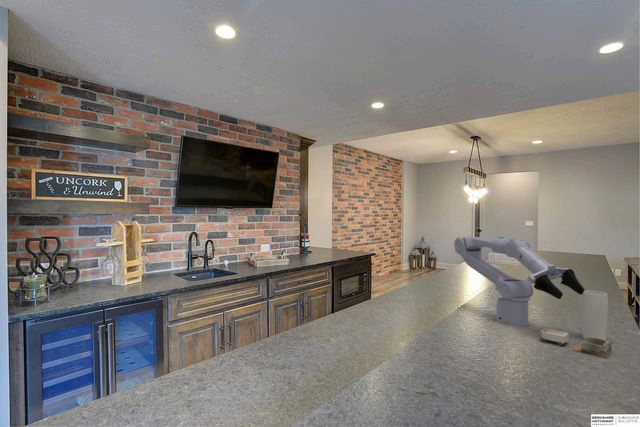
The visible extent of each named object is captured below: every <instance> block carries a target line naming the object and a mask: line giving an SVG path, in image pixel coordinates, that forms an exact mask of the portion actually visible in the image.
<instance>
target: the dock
mask: <svg viewBox="0 0 640 427" xmlns="http://www.w3.org/2000/svg"><path fill="white" fill-rule="evenodd" d="M585 340H586V341H580V343H579V342H578V343H577V344H576V345H575V346H574V347H572V349H571V351H572V352H573V351H574V352H576V353H577V352H578V353H582V354H586V355H590V356H594V357H599V358H602V359H607V358H609V356H610V354H611V353H612V340H609V339H606V340H603V339H598V338H593V337H589V336H587V337H586V339H585Z"/></svg>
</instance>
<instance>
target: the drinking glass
mask: <svg viewBox="0 0 640 427" xmlns="http://www.w3.org/2000/svg"><path fill="white" fill-rule="evenodd" d="M578 302H579V311H580V313H579V314H580V319H581V326H582V338H583V339H584V340H586V337H587V336H589V337H593V338H598V339H603V340H607V326H608V315H609V296H608V293H606V292H603V291H598V290H588V289H587V290H586V289H585V290H584V292H583V294H581V295H580V294H578Z"/></svg>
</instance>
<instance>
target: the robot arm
mask: <svg viewBox="0 0 640 427" xmlns="http://www.w3.org/2000/svg"><path fill="white" fill-rule="evenodd" d="M514 239H515V238H504V236H497V237H494V238H492V239H489V238H486V237H481V236H471V237H469V236H467V237H466V236H465V237H460V236H459V237H457V238H455V240H454V244H453V245H454V251H455V253H456V254H458V255H459V256H460V257H461V258H462V259H463V262H465V264H466V265H467V266H469V267H470V268H471V269H473V270H474V271H475V272H477V273H478V274H480V275H481V276H483V277H484V278H486V279H487V280H488V281H490V282H492V283H493V284H494V285H495V290H496V291H497V292H499V294H500V296H501V297H499V298H498V299H497V301H496V322H500V323H503V324H504V323H505V324H508V325H513V326H517V327H518V326H519V327H527V326H529V301H530V299H531V297H533V295H534V289H535V290H537V291H541V292H544V293H546V294H549V295H551V296H552V297H554V298H556V299H557V300H561V299H562V297H563V295H564V294H563V292H562V291H561V289H559V288H558V287H557V286H556V285H555V284H554V283H553V282H552V281H553V280H555V279H557V278H561V282H560V284H561V285H564V286H566V287H568V288H569V289H571V290H573V291H574V292H575V293H577V294H578V295H579V294H580V295H581V294H583V292H584V290H586V289H585V288H584V287H583V285H582V284H581V283H580V281H579V280H578V278H577V276H576V273H575V272H574V270H573V269H572V268H569V267H557V266H556V265H555V264H554V263H553V264H551V263H549V262H548V261H546V260H545V259H544V258H543V257H542V256H541V255H539V254H538V253H537V252H535V251H534V250H533V249H532V248H531V245H530V243H529V242H527V241H526V240H522V239H521V240H514ZM482 248H488V249H491V251H493V252H494V253H498V254H502V255H506V256H507V257H509V258H513V259H514V260H516V261H518V262H519V263H520V264H522V266H524V267H525V268H526V269H527V271H529V272H531V273H532V274H529V275H528V277H527V279H526V280H523V279H520V278H519V277H514V276H511V275H508V274H507V273H505V272H503V271H502V270H501V269H499V268H497V267H496V266H494V265H493V264H491V263H489V262H487V261H486V260H484V259H483V258H482V255H483V254H482V253H483V252H482Z"/></svg>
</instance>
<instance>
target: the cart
mask: <svg viewBox="0 0 640 427" xmlns="http://www.w3.org/2000/svg"><path fill="white" fill-rule="evenodd" d="M538 332H539V339H540V340H541V342H542V343H546V342H547V341H551V342H556V343H557V346H559V347H562V346H563V345H564V344H565V343H567V342H568V341H569V340H570V338H569V336H570V334H569V332H566V331H565V332H564V331H560V330H556V329H551V328H547V327H543V328H542V329H540V330H539V331H538Z"/></svg>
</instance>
